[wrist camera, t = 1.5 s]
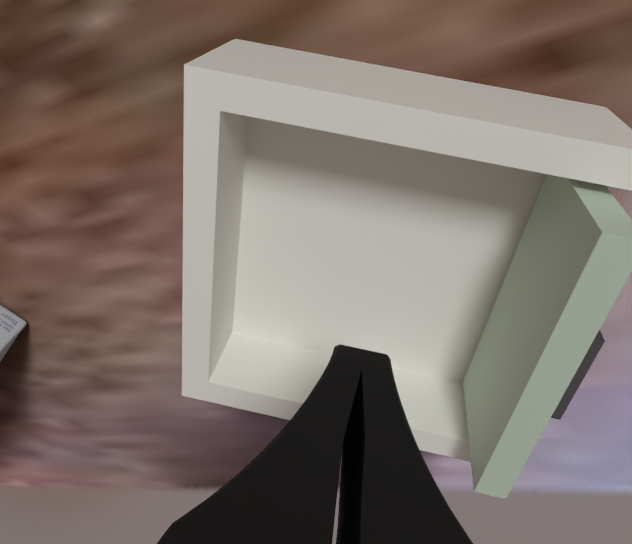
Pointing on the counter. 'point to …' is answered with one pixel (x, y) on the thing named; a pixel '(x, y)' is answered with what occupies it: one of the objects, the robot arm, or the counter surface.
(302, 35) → the counter surface
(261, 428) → the counter surface
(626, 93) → the counter surface
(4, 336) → the medicine box
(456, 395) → the white open tray
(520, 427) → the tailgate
